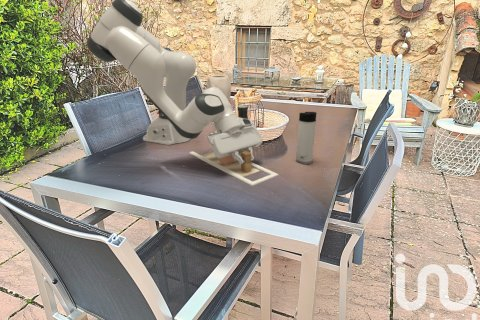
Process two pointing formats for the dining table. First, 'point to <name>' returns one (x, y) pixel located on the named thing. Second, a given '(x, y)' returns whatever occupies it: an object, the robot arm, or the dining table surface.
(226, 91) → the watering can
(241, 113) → the sauce bottle
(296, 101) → the dining table surface
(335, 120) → the dining table surface
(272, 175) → the guide rails
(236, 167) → the pale strip
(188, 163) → the dining table surface
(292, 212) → the dining table surface
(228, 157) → the terracotta block
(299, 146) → the travel mug
